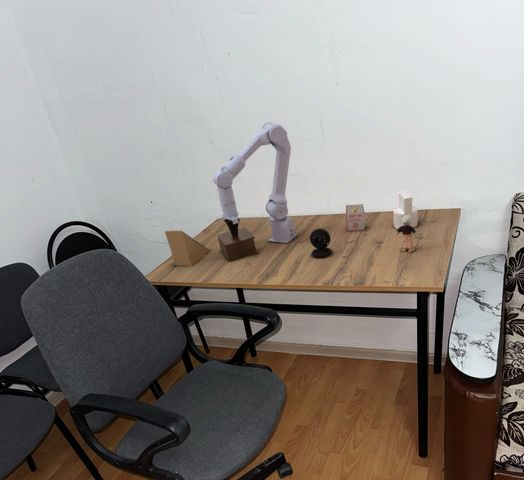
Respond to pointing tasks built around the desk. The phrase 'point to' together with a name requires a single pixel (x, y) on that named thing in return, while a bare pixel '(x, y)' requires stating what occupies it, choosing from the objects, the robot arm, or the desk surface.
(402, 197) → the cylinder with rectangular tab
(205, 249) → the sandwich container
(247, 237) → the lid
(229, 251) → the walnut box
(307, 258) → the desk surface
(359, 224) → the grey printed box
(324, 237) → the webcam
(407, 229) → the grandmother figurine
